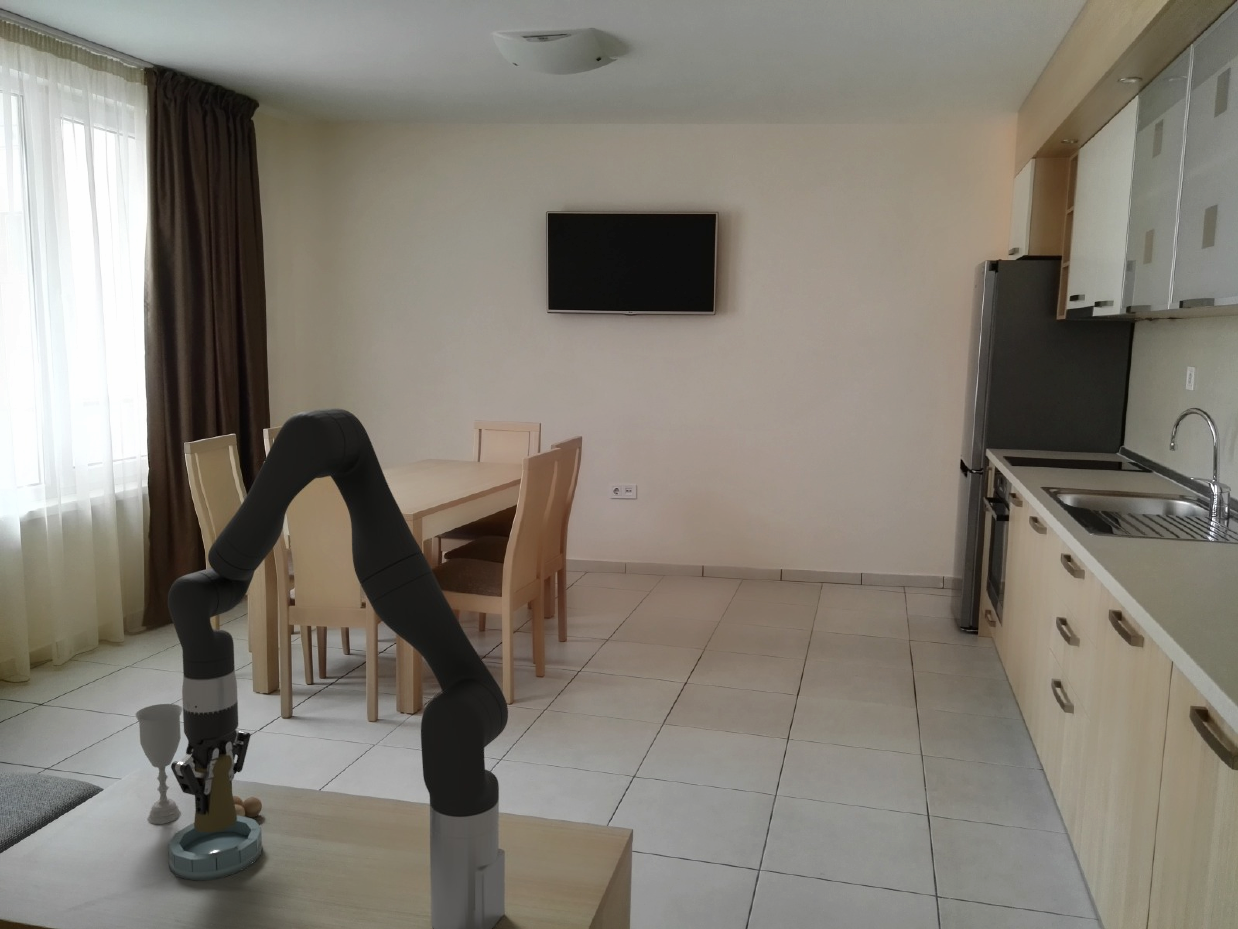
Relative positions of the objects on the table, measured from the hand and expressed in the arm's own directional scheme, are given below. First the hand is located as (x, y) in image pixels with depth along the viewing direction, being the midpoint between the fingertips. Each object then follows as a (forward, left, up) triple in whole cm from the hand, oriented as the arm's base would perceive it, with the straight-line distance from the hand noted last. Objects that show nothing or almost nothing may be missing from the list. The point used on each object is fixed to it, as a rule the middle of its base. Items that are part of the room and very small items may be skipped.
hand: (214, 809), depth 142 cm
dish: (0, 0, -8) cm, 8 cm away
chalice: (+17, -6, -8) cm, 20 cm away
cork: (0, 0, -2) cm, 2 cm away
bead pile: (+5, -10, -8) cm, 14 cm away
